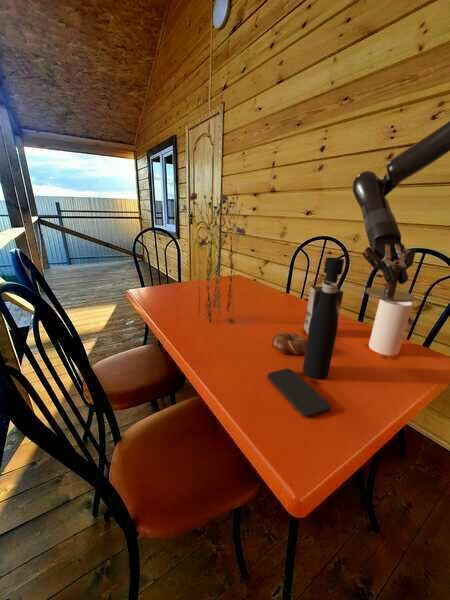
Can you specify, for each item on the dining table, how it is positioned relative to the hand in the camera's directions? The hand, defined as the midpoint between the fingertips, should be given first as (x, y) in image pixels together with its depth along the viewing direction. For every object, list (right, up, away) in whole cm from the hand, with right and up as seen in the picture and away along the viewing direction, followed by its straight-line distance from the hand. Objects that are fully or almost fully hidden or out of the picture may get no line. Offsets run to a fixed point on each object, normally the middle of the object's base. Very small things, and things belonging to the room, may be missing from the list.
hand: (397, 282), depth 64 cm
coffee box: (-11, -16, +26) cm, 32 cm away
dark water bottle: (-20, -24, +3) cm, 31 cm away
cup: (+6, -20, +16) cm, 26 cm away
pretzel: (-23, -20, +15) cm, 34 cm away
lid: (0, -3, +3) cm, 5 cm away
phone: (-27, -26, -5) cm, 38 cm away
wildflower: (-47, -12, +35) cm, 60 cm away
